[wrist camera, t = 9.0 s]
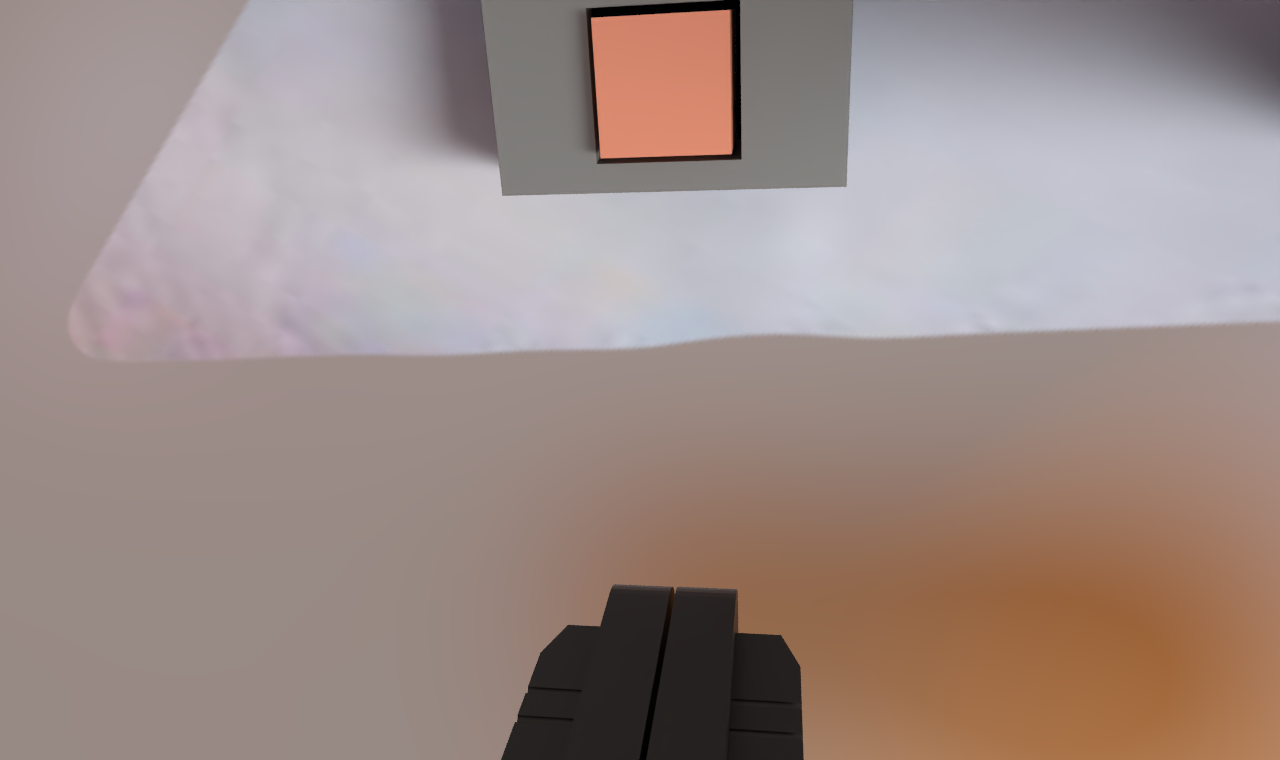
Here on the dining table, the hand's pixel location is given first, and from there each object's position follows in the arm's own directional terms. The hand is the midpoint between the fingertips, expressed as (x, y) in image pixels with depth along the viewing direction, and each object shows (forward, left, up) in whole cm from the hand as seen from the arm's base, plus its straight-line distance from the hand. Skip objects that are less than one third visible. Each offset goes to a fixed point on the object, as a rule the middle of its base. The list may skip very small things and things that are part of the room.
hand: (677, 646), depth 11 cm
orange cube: (+2, -5, -26) cm, 26 cm away
